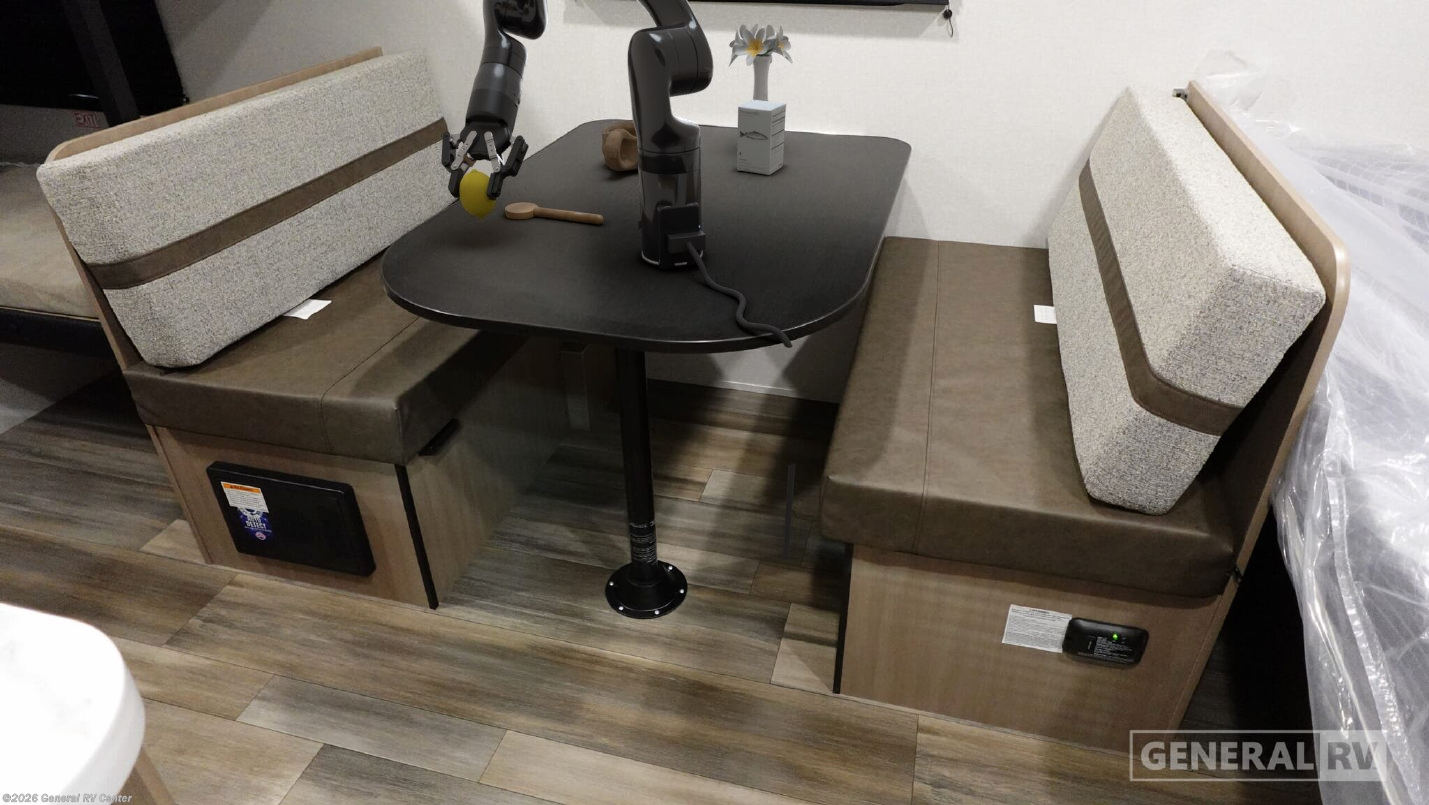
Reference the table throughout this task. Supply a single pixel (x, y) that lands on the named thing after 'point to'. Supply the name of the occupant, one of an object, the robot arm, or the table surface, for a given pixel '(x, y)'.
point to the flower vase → (760, 53)
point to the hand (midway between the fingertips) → (472, 196)
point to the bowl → (620, 146)
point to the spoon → (549, 213)
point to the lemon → (476, 194)
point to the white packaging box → (760, 136)
